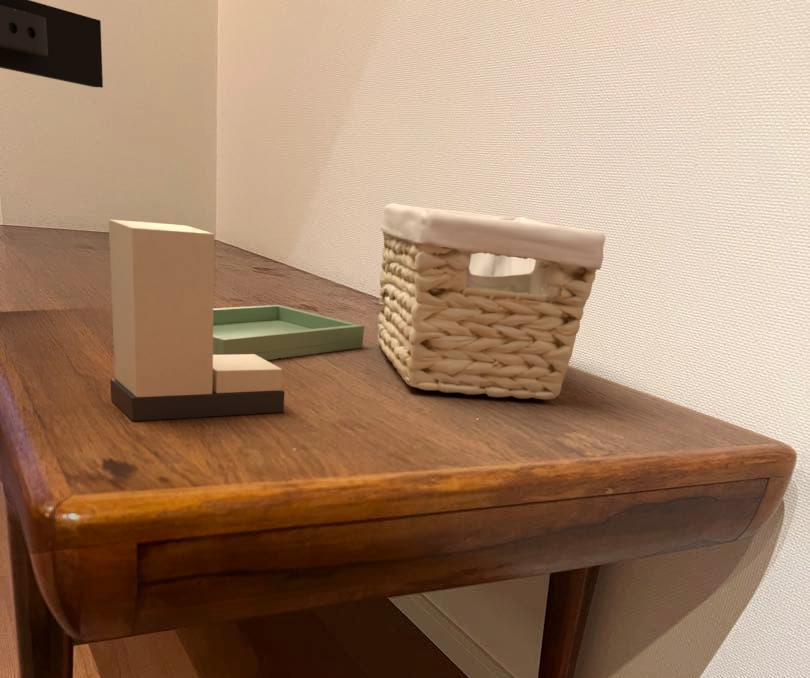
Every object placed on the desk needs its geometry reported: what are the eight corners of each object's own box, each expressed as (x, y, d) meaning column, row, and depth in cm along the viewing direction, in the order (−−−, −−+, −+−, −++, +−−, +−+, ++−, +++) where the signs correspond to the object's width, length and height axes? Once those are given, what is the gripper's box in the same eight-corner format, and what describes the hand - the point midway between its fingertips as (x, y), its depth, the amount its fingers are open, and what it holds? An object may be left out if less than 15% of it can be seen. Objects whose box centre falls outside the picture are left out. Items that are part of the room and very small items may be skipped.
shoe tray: (132, 337, 75) (132, 313, 74) (277, 325, 90) (278, 304, 89) (223, 366, 68) (224, 339, 67) (362, 347, 83) (364, 325, 82)
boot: (132, 421, 51) (126, 227, 46) (111, 401, 55) (103, 218, 50) (283, 412, 57) (292, 239, 53) (255, 394, 61) (261, 231, 56)
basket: (366, 340, 87) (380, 197, 81) (505, 353, 90) (528, 216, 84) (398, 397, 66) (419, 208, 60) (578, 410, 69) (616, 232, 63)
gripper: (-675, 41, 31) (-100, 121, 47) (-521, 49, 19) (178, 152, 35) (-768, -205, 28) (-119, -28, 44) (-655, -384, 16) (178, -49, 32)
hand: (14, 52), depth 40 cm, fingers open, 13 cm apart
